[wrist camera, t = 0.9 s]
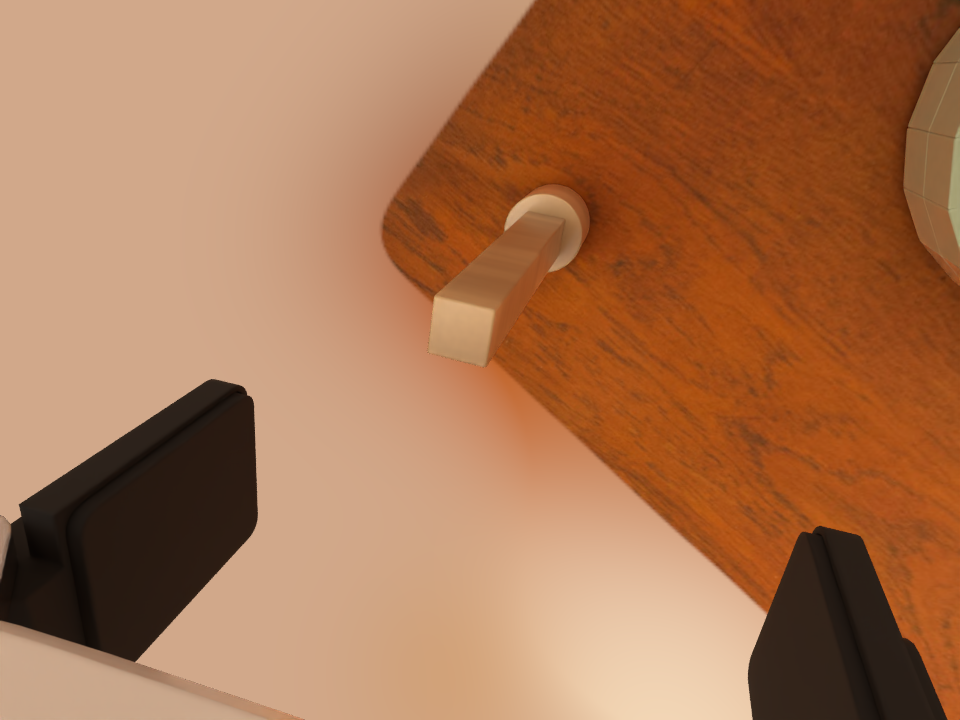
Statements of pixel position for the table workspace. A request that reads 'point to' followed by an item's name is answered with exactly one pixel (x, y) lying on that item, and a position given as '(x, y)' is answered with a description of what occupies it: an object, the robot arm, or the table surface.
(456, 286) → the stirrer
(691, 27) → the table surface
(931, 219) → the bowl
